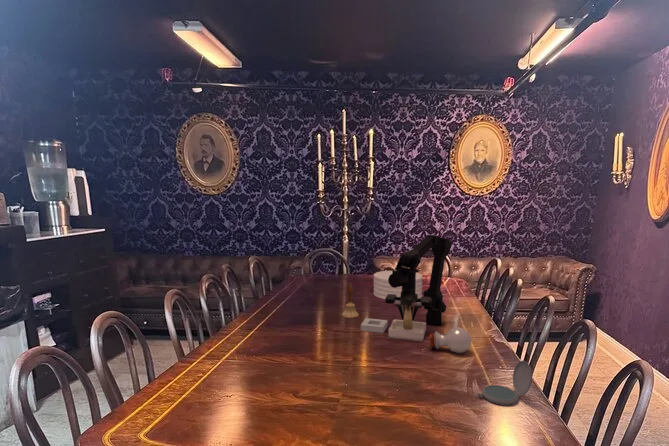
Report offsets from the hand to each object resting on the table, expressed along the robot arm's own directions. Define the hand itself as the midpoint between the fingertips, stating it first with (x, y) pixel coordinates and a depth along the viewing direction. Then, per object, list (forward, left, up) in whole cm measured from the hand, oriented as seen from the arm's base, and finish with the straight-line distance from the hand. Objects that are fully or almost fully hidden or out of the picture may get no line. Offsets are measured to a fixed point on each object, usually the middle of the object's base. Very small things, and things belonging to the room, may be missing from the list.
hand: (408, 320), depth 176 cm
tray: (0, 0, -6) cm, 6 cm away
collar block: (+15, -3, -6) cm, 16 cm away
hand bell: (+30, -18, -6) cm, 35 cm away
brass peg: (0, 0, -4) cm, 4 cm away
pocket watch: (-33, +46, -6) cm, 57 cm away
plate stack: (+14, -66, -6) cm, 68 cm away
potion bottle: (-18, +14, -6) cm, 23 cm away
